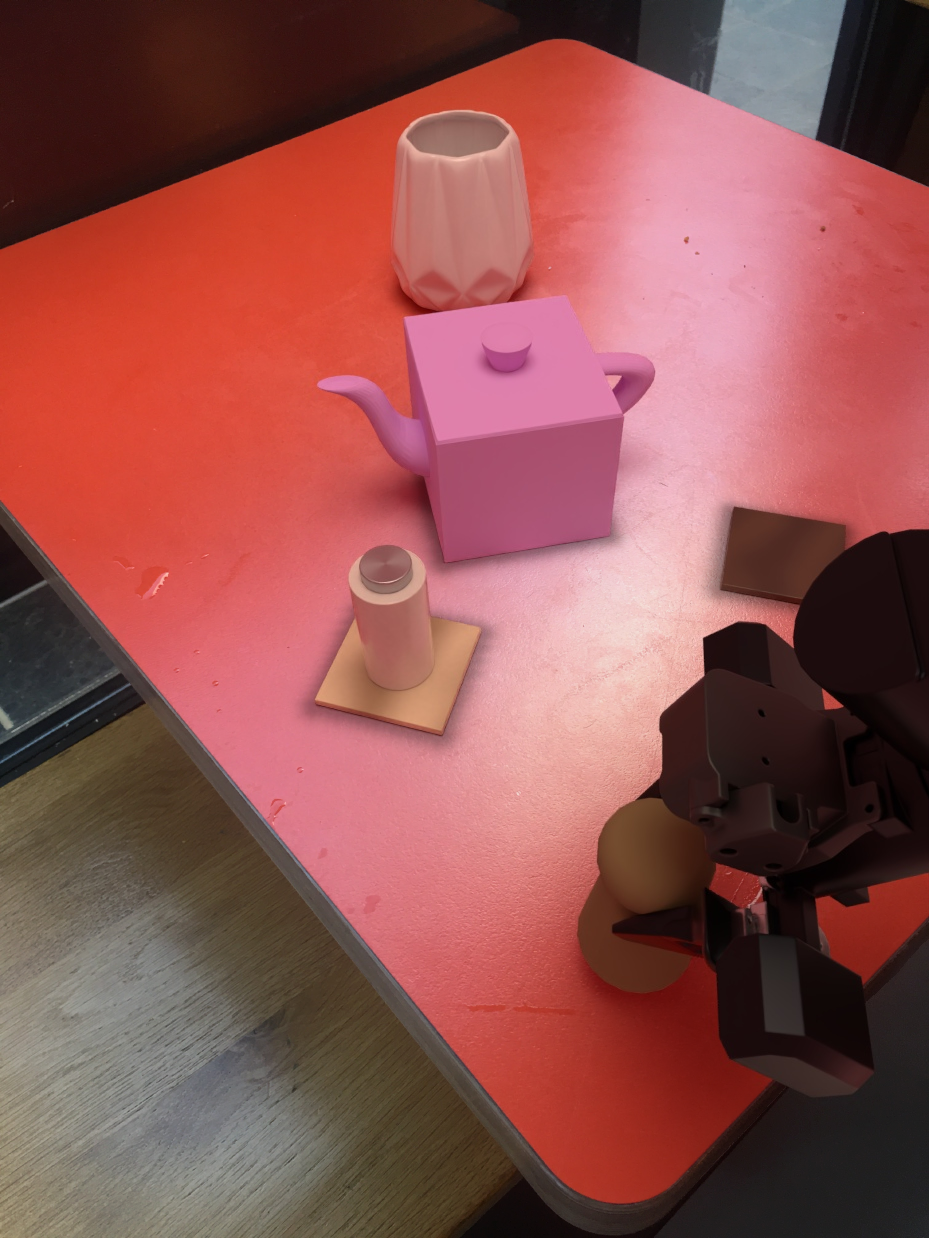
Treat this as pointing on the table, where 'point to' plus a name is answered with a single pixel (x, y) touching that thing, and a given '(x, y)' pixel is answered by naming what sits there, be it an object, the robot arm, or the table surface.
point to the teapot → (508, 424)
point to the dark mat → (778, 553)
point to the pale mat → (411, 706)
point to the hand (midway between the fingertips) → (618, 877)
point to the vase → (460, 211)
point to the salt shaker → (393, 616)
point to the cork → (641, 892)
